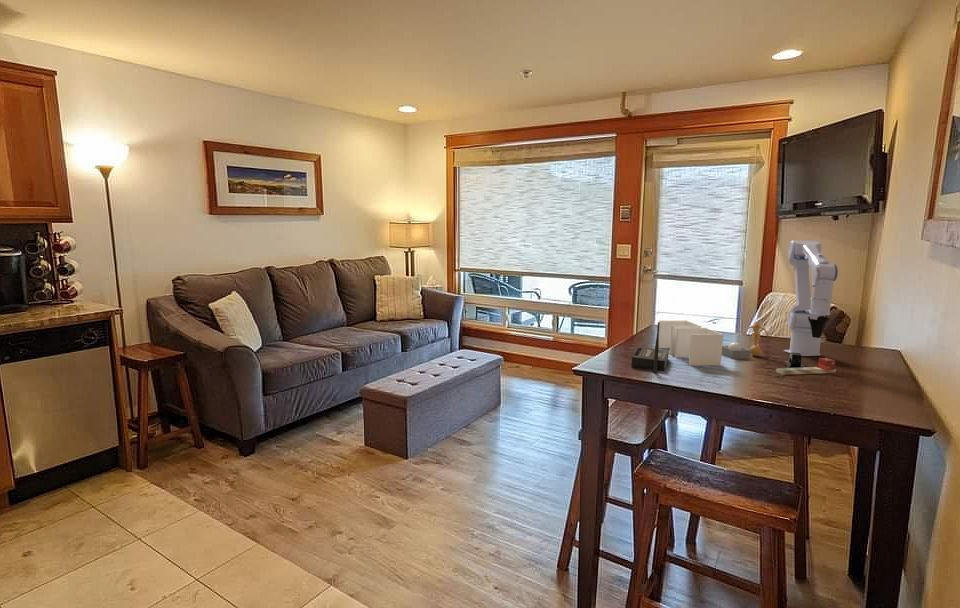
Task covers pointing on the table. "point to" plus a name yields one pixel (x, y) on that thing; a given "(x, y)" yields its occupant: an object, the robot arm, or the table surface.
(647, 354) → the wireless controller
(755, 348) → the figurine
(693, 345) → the white brackets
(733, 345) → the white glossy sphere
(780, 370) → the space track
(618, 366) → the table surface
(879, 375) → the table surface
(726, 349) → the housing
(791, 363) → the black piece
